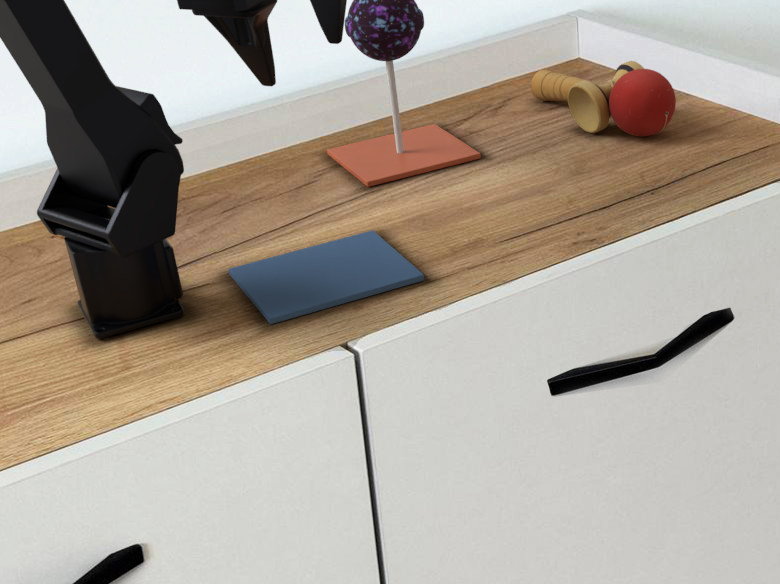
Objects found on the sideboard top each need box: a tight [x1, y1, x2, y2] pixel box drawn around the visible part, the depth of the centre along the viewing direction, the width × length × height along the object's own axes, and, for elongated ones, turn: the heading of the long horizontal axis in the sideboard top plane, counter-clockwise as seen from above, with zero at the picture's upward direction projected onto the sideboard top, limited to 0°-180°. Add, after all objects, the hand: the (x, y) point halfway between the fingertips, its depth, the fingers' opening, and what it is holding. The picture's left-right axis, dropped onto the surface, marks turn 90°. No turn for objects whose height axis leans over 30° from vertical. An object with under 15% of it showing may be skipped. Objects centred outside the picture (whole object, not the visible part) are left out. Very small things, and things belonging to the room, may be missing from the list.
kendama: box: [530, 60, 677, 137], centre depth 124 cm, size 8×6×18 cm
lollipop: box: [344, 0, 425, 153], centre depth 116 cm, size 7×7×15 cm
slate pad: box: [227, 229, 425, 325], centre depth 99 cm, size 12×10×1 cm
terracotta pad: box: [326, 123, 482, 188], centre depth 120 cm, size 11×10×1 cm
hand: (303, 63), depth 103 cm, fingers open, 9 cm apart
